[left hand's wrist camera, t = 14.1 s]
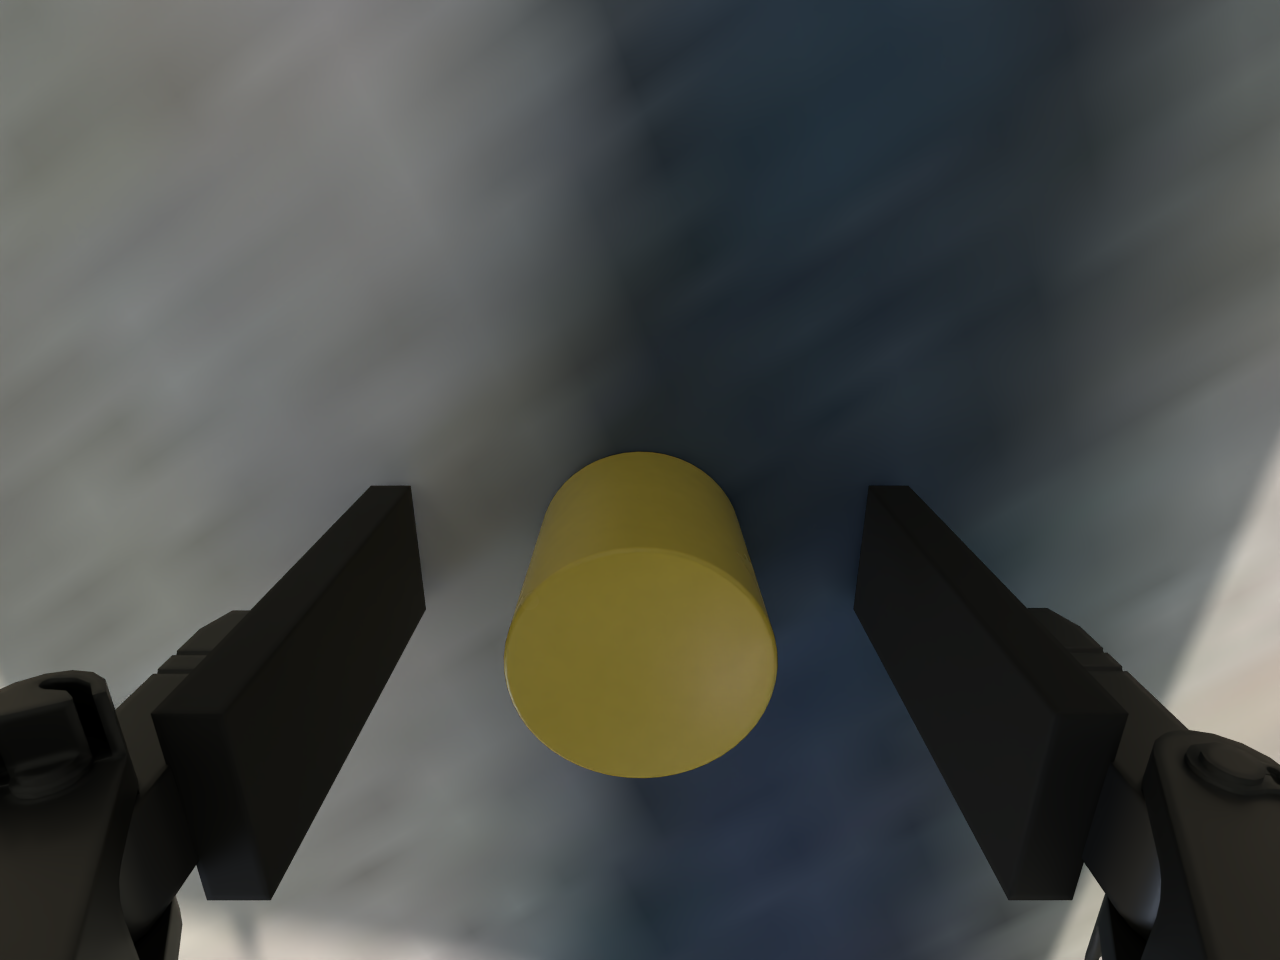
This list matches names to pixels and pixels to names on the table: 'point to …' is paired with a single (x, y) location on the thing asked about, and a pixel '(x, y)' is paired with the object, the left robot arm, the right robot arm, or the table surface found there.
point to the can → (640, 622)
